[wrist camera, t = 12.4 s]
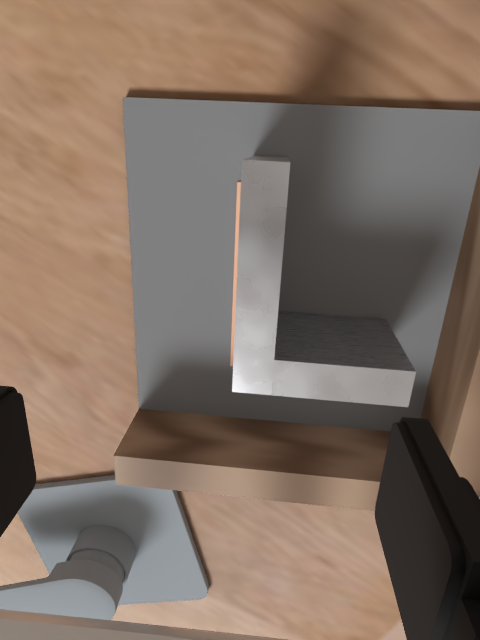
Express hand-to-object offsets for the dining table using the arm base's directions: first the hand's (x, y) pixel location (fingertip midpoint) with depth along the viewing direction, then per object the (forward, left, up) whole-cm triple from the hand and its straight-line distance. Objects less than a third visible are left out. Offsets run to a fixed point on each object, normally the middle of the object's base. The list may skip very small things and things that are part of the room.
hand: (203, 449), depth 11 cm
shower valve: (-10, -22, -16) cm, 29 cm away
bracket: (+4, +2, -14) cm, 15 cm away
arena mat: (+3, -1, -15) cm, 15 cm away
